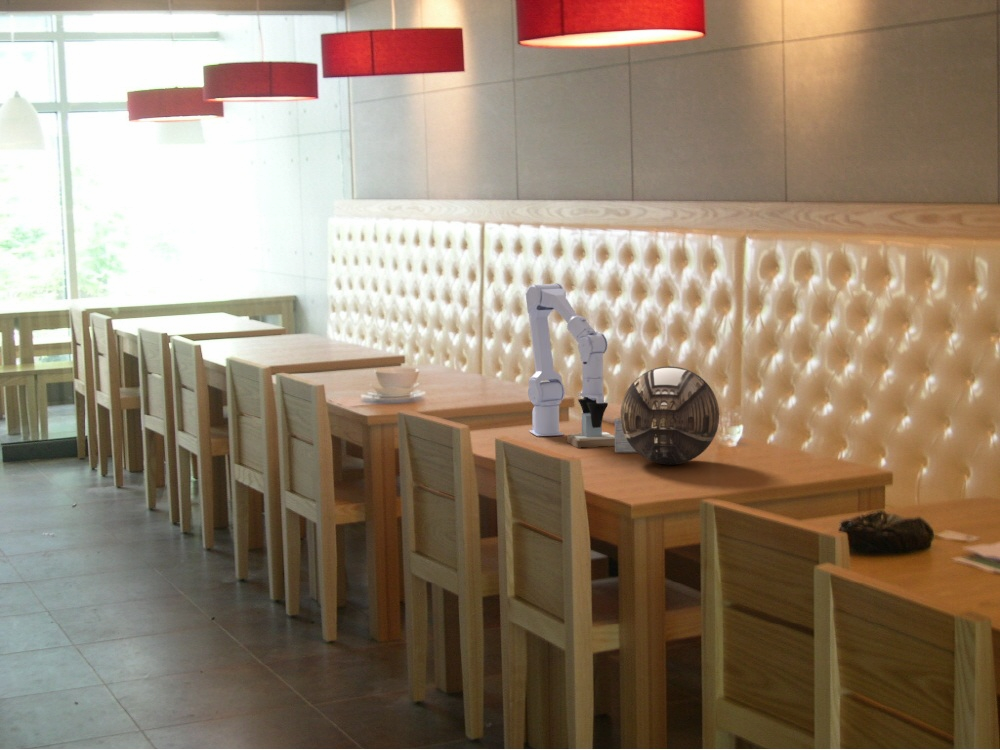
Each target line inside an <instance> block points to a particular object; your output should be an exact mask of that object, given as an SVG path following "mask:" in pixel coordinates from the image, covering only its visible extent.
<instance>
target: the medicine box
mask: <svg viewBox="0 0 1000 750" xmlns="http://www.w3.org/2000/svg"><path fill="white" fill-rule="evenodd" d="M614 436H615V446H614V453H637V452H636V451H635V450H634V449H633V447H632V446H631V445H630V444H629V442H628V441H627V439H626V437H625V435H624V432H623V429H622V425H621V418H615V420H614Z"/></svg>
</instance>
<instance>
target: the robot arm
mask: <svg viewBox="0 0 1000 750" xmlns="http://www.w3.org/2000/svg"><path fill="white" fill-rule="evenodd" d="M563 287H564V286H562V284H560V283H558V282H556V283H546V284H545V283H544V284H533V283H532V284H531V285H530V286H529V287H528V288H527V291H526V292H525V301H526V309H527V313H528V318H529V319H528V320H529V328H530V334H531V344H532V352H533V361H534V369H535V372H534V373H533V374H532V376H530V378H529V379H528V390H527V395H528V398H529V400H530V402H531V403H532V405H533V408H532V412H531V414H532V416H531V417H532V420H531V421H532V429H530V430H529V432H530V433H531V434H533V435H534V436H536V437H553V436H564V433H563V432H561V431H560V405H561V404H562V401H563V400H564V398H565V395H566V389H565V386H564V383H563V379H562V375H560V374H559V373H558V372H557V371H555V369H554V368H555V367H554V362H553V353H552V345H551V344H552V342H551V337H550V328H549V327H550V326H549V320H548V319H549V318H548V317H549V316H550V314H551V313H552V312H554V311H556V312H557V313H558V315H559V316H560V317H561V318H562V319H564V321H565V322H566V323H567V325H566V327H567V330H568V332H569V334H571V336H572V337H573V338H574V340H575V342H577V349H578V352H579V355H580V361H581V363H582V370H581V371H582V390H581V392H579V393H578V396H579V397H582V398H578V400H577V401H578V403H579V405H580V407H581V411H582V413H590V414H591V422H592V426H593V428H600V427H601V423H603V419H604V414H605V411H606V410H607V407H608V406H609V405H608V404H609V403H608V402H605V396H604V395H605V394H604V354H605V353H606V352H607V349H608V341H607V338H606V336H605V334H604V333H601V332H598V331H595V329H594V328H593V327H592V325H590V323H589V322H588V321H587V318H586V317H585V316H583V315H578V314H577V313H576V311H575V310H574V308H573V307H572V305H571V303H570V302H569V301H568V299H567V292H566V289H564V288H563Z"/></svg>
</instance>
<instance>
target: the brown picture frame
mask: <svg viewBox="0 0 1000 750" xmlns="http://www.w3.org/2000/svg"><path fill="white" fill-rule="evenodd" d="M567 443H568V444H570V445H571V444H572V445H571V446H573V447H575V448H577V449H582V448H581V447H589V448H599V447H598V446H608V447H615V435H613V434H612V433H609V432H607V431H602V436H595V437H585V436H584V435H582V432H580V433H571V434H568V435H567Z"/></svg>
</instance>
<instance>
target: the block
mask: <svg viewBox="0 0 1000 750" xmlns="http://www.w3.org/2000/svg"><path fill="white" fill-rule="evenodd" d="M602 423H603V422H602ZM602 423H601V427H600V428H593V426H592V422H591V414H590V413H583V412H582V413H581V433H582V435H584V436H585V437H595V436H602V432H603V427H602V426H603V425H602Z"/></svg>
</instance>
